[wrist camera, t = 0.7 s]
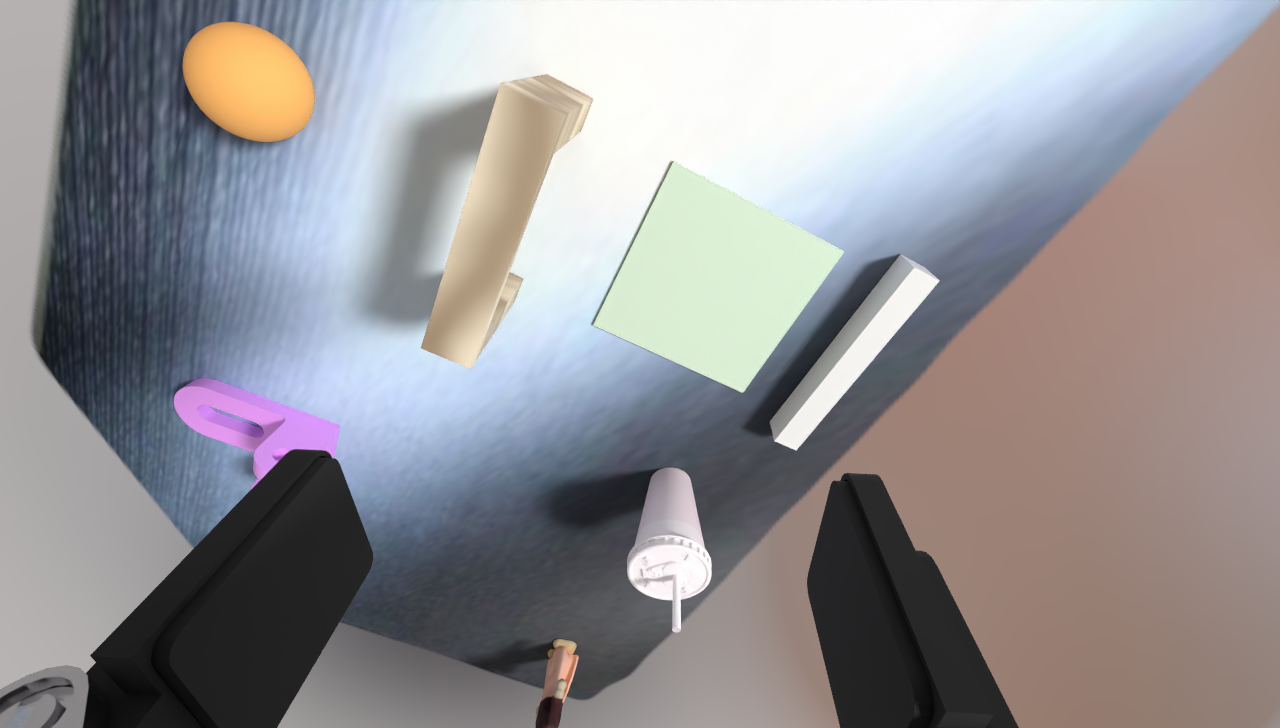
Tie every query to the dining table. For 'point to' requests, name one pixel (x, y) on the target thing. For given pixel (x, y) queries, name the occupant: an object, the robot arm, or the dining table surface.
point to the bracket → (277, 421)
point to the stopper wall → (852, 350)
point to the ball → (248, 81)
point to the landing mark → (713, 280)
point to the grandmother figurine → (556, 683)
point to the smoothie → (669, 543)
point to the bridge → (500, 212)
